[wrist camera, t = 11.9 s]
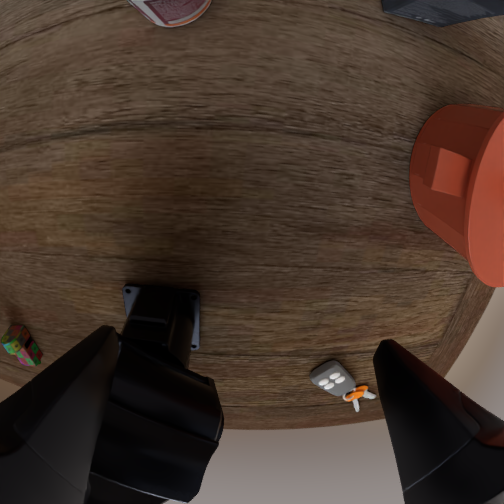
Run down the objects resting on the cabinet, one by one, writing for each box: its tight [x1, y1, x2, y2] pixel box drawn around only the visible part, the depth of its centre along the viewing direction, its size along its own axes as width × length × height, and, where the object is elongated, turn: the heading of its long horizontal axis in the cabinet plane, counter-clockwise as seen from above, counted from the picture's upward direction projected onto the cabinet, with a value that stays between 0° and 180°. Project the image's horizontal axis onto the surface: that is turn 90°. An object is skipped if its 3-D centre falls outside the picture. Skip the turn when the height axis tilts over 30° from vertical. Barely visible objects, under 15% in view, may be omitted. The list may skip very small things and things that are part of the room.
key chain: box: [309, 360, 376, 412], centre depth 30 cm, size 13×4×2 cm, turn 41°
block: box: [1, 325, 43, 366], centre depth 25 cm, size 6×4×3 cm
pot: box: [409, 104, 504, 262], centre depth 16 cm, size 12×17×8 cm
